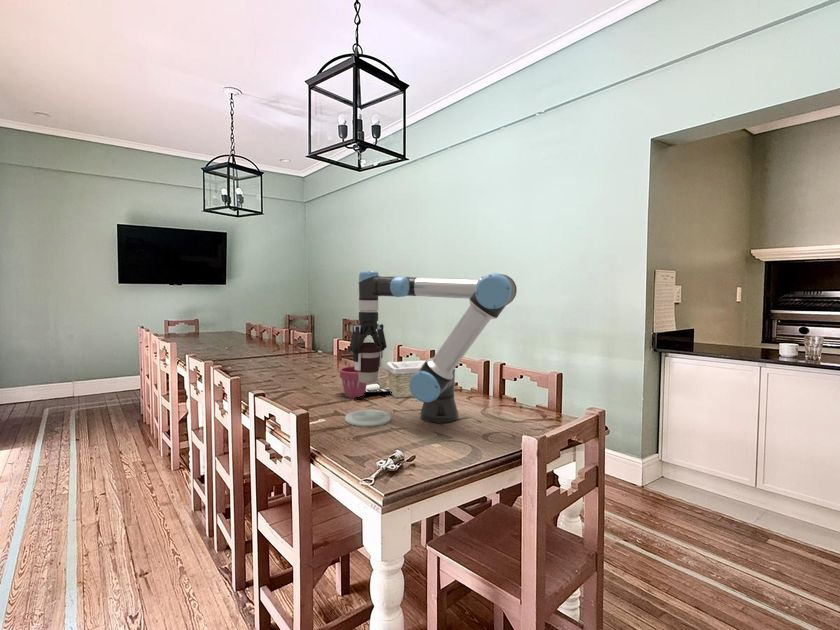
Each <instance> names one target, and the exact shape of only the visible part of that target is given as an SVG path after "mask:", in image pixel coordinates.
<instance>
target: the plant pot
mask: <svg viewBox="0 0 840 630" xmlns="http://www.w3.org/2000/svg"><path fill="white" fill-rule="evenodd" d="M339 378H340V379H341V382H342V387H343V391H344V392H343V393H344V396H345V397H346V398H349V399H356V398H355V397H360V396H363V395H364V396H365V394H366V389H367V386H368V383H362V382H359V377H358V370H355V365H354V366H352V365H351V366H344V367H342V368H339ZM364 393H365V394H364ZM364 396H363V397H364ZM360 398H361V397H360Z"/></svg>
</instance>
